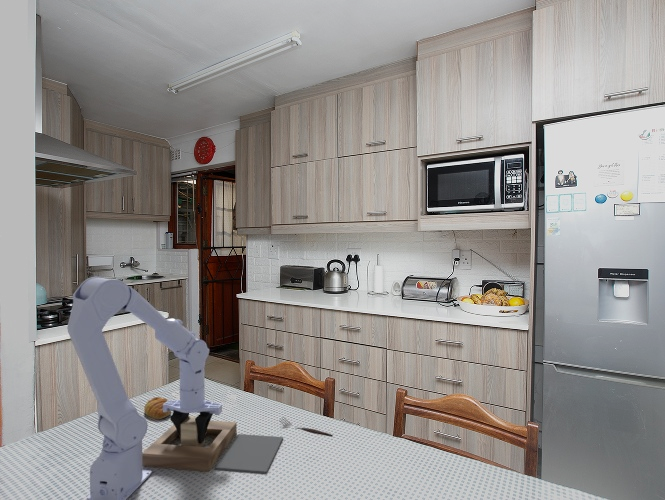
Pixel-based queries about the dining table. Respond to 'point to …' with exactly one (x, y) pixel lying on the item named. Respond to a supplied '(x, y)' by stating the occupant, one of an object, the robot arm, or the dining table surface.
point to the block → (190, 433)
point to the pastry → (156, 408)
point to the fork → (304, 428)
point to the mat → (250, 453)
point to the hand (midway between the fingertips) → (192, 440)
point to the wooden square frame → (189, 449)
